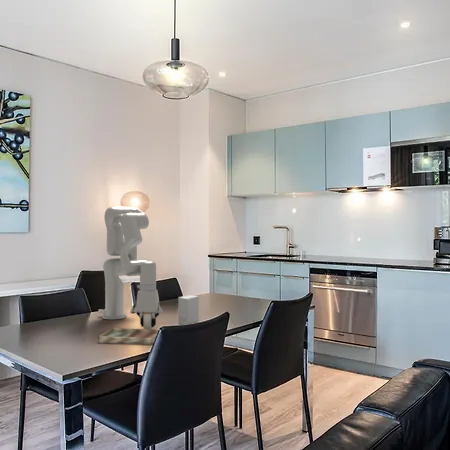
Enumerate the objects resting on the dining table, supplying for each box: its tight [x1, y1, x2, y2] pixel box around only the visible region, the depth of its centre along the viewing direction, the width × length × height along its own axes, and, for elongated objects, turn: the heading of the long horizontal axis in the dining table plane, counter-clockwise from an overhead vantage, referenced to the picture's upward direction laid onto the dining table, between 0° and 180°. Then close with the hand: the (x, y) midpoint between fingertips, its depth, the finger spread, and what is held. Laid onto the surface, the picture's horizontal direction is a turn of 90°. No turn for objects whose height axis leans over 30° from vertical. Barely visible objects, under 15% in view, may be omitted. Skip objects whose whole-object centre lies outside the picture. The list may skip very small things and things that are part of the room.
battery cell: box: [142, 312, 154, 329], centre depth 217 cm, size 4×4×11 cm
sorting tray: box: [97, 327, 159, 346], centre depth 202 cm, size 24×16×2 cm, turn 82°
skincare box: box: [177, 294, 200, 326], centre depth 221 cm, size 8×7×16 cm
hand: (148, 326), depth 217 cm, fingers closed on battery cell, 4 cm apart
